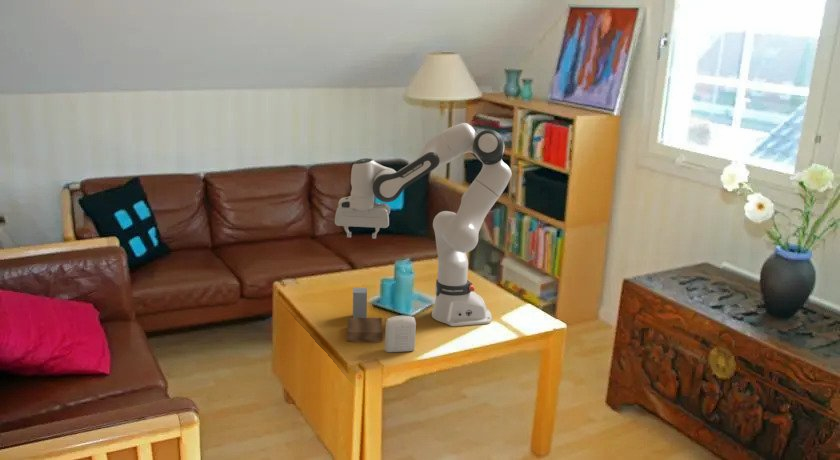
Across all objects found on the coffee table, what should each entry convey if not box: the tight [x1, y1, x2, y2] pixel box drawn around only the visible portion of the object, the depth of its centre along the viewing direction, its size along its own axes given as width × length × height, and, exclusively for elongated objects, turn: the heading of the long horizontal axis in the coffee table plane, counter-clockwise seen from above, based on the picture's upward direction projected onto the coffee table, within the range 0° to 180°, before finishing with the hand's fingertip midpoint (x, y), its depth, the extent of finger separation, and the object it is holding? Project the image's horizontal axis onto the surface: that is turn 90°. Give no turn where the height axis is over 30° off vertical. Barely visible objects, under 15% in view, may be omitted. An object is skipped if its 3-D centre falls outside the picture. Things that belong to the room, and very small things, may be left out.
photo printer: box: [384, 315, 417, 353], centre depth 244 cm, size 10×4×12 cm, turn 103°
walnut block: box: [346, 317, 383, 343], centre depth 256 cm, size 12×12×4 cm
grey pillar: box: [352, 287, 368, 318], centre depth 268 cm, size 5×5×11 cm
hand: (361, 237), depth 274 cm, fingers open, 8 cm apart
